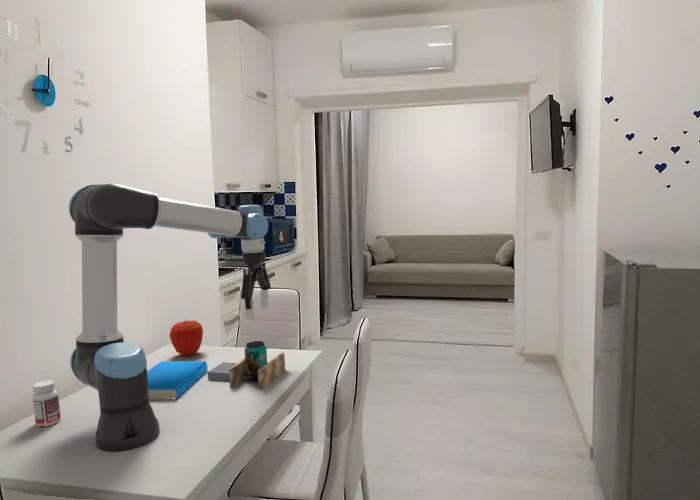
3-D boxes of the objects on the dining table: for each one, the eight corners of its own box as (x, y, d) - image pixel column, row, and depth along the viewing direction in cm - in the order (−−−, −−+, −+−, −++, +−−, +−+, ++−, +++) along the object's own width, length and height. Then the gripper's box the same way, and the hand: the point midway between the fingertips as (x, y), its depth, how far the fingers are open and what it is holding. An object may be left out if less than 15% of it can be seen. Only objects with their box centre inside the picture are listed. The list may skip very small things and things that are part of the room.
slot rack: (261, 389, 164) (260, 370, 164) (230, 387, 167) (228, 368, 167) (285, 369, 181) (284, 352, 181) (256, 367, 185) (255, 351, 184)
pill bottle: (63, 416, 151) (59, 378, 150) (57, 425, 145) (53, 385, 144) (39, 419, 149) (35, 380, 148) (32, 429, 143) (27, 388, 142)
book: (123, 388, 161) (159, 360, 186) (124, 402, 161) (160, 372, 186) (177, 388, 159) (207, 359, 184) (179, 401, 160) (208, 371, 184)
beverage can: (242, 379, 174) (239, 344, 172) (260, 373, 178) (257, 339, 177) (254, 384, 169) (252, 348, 167) (272, 378, 173) (270, 342, 172)
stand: (235, 381, 173) (234, 373, 172) (208, 379, 175) (207, 372, 175) (249, 370, 182) (249, 363, 182) (223, 369, 185) (223, 362, 185)
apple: (197, 348, 212) (194, 313, 210) (210, 354, 202) (207, 318, 201) (166, 355, 204) (163, 319, 202) (178, 362, 195) (175, 324, 193)
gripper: (249, 256, 165) (254, 322, 168) (276, 246, 189) (280, 304, 192) (227, 256, 166) (232, 322, 169) (256, 246, 191) (261, 304, 193)
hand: (258, 313), depth 180 cm, fingers open, 13 cm apart
